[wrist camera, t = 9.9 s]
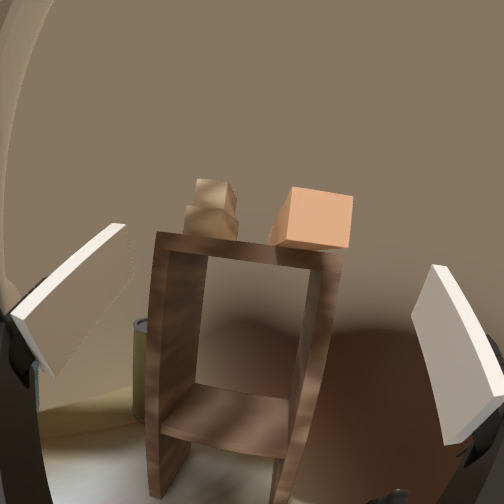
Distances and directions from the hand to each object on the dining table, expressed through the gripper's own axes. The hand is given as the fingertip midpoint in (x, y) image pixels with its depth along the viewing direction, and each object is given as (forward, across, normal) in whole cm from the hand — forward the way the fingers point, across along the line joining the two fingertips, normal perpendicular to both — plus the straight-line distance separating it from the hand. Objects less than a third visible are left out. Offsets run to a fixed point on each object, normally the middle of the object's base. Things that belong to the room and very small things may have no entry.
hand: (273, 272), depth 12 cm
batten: (+14, 0, -7) cm, 16 cm away
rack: (+1, -3, -36) cm, 36 cm away
